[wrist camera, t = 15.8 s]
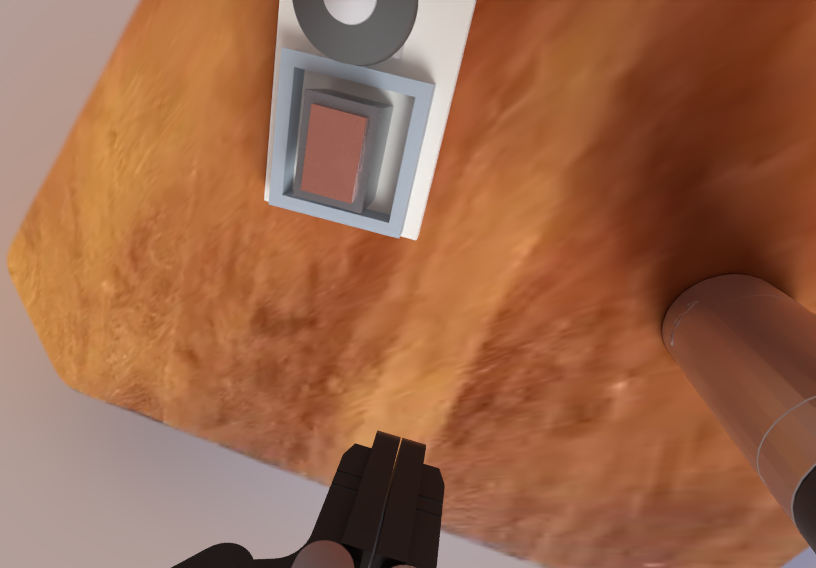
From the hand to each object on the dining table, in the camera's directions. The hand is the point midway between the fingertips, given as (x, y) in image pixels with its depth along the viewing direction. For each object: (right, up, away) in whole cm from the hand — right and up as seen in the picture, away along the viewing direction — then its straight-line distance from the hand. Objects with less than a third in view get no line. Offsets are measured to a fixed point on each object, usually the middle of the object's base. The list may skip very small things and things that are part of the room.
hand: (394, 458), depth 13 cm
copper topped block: (-4, +16, +20) cm, 26 cm away
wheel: (-2, +23, +16) cm, 28 cm away
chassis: (-3, +19, +21) cm, 28 cm away
